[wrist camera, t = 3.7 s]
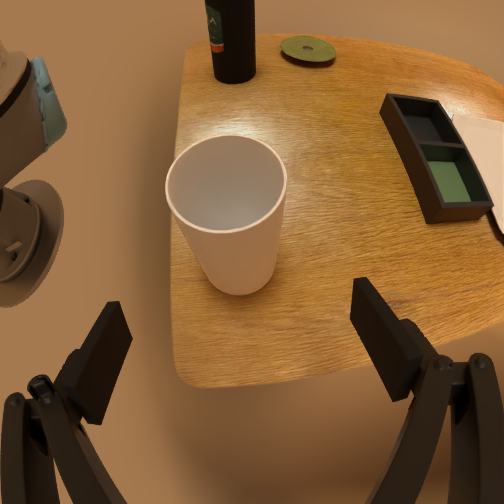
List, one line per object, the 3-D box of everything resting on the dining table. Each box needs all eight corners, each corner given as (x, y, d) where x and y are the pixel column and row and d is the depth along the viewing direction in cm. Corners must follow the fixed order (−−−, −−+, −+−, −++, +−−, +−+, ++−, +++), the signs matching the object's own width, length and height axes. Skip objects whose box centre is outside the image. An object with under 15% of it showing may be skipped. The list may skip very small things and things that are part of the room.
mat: (330, 45, 52) (331, 38, 50) (339, 71, 48) (340, 64, 46) (279, 41, 52) (279, 34, 50) (280, 66, 48) (281, 58, 46)
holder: (426, 224, 36) (442, 207, 31) (379, 112, 43) (386, 93, 39) (478, 220, 36) (494, 205, 31) (429, 117, 44) (438, 100, 39)
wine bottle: (248, 86, 46) (241, -76, 18) (207, 81, 47) (185, -72, 19) (260, 65, 48) (259, -79, 20) (223, 60, 49) (209, -76, 21)
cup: (189, 259, 34) (142, 180, 20) (241, 215, 36) (230, 118, 21) (237, 310, 32) (218, 260, 17) (290, 261, 34) (313, 178, 19)
